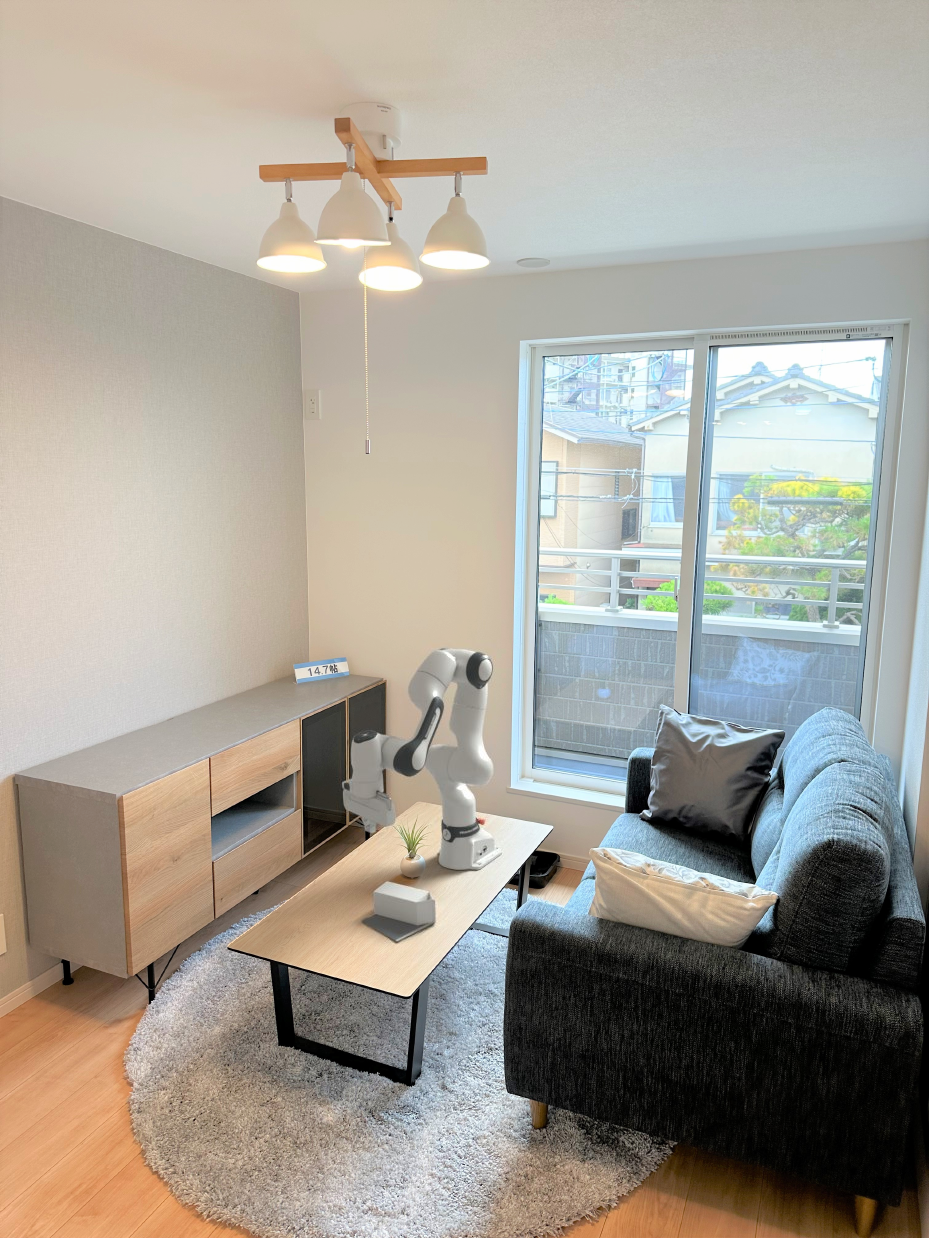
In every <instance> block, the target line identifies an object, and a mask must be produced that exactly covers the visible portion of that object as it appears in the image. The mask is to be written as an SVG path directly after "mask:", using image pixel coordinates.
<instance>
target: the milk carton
mask: <svg viewBox="0 0 929 1238" xmlns="http://www.w3.org/2000/svg"><path fill="white" fill-rule="evenodd" d="M436 909H437V908H436V899H434V898H432V896H431V893H430V891H428V890H424V889H419V888H415V887H412V886H407V885H404V884H399V883H397V882H396V883H395V882H392V881H385V882H384V883H383V884H381V885H380V886H379V887H377V888H376V889H375V890H374V891H373V911H374V912H373V913H374V914H377V915H381V916H384V917H388V918H392V919H395V920H399V921H403V922H406V923H410V924H414V925H417V926H418V925H423V924H427V923H432V922H433V923H435V924H436V923H437V916H436V914H437V913H436V912H437V911H436ZM374 914H373V915H374Z"/></svg>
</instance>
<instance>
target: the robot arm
mask: <svg viewBox="0 0 929 1238" xmlns="http://www.w3.org/2000/svg"><path fill="white" fill-rule="evenodd" d="M493 670H494V666H493V662H492V659H491V657H490V656H489V655H487V654H485V653H483V652H480V651H474V650H469V649H465V648H460V649H459V648H449V647H445V648H444V647H443V648H440V649H436V650H433V651H431V653H430V654H429V655H428V656H427V657H426V658H425V659H424V660H423V662H422V663H421V664H420V665H419V666H418V669H417V670H416V671H415V673H414V674H413V676H412V678H411V679H410V682H409V683H408V686H407V693H408V697H409V700H410V701H411V702H412V703H413V704H414V706H415V707H416V708H417V709H418V710H420V711H421V717H420V719H419V721H418V724H417V727H416V728H415V731H414V734H413V736H412V737H411V738H408V739H405V738H400V737H397V736H393V735H388V734H381V733H379V732H377V731H375V730H373V729H369V730H368V729H367V730H362V731H360V732H357V733H356V734H355V735H353V738H352V740H351V748H350V762H351V763H350V764H351V766H352V776H351V778H349V779H346V780H344V781H342V782H341V786H342V787H341V788H342V789H343V790H342V799H343V806H344V808H345V810H346V811H349V812H351V813H352V814H356V815H357V816H360V817H361V821H362V823H363V826H364V831H365V832H368V833H370V834H373V833H376V831H377V829H376V827H377V824H378V825H381V826H382V827H385V828H387V827H389V826H390V827H391V826H392V825H394V824H395V823H396V819H397V818H396V811H395V806H394V802H393V800H392V798H391V797H390V796H389V794H388V793H385V792H384V778H383V777H384V776H383V775H384V774H383V770H390V771H393V772H396V773H398V774H400V775H403V776H405V777H408V778H410V777H414V776H415V775H417V774H418V773H420V772H421V771H422V770H423V769H424V767H425V770H427V772H428V773H429V774H430V775H431V776H432V778H433V780H434V782H435V784H436V786H437V789H438V791H439V794H440V799H441V808H442V819H441V820H440V822H441V823H440V824H441V826H440V827H441V842H440V849H439V857H438V864H439V865H441V867H444V868H446V869H449V870H455V871H456V870H458V871H461V870H463V871H464V870H482V868H484V867H486V866H487V865H488V864H489V863H491V862H492V861H494V860H495V859H496V858H498V857H500V856H501V855H502V854H503V851H502V849H501V848H500V847H499V846H498V845H496V843H495V839H494V837H493V835H492V834H491V833H489V832H488V831H486V830H484V828H482V827H480V825H481V826H485V824H486V819H484V818H481V817H479V818H477V817H476V815H477V814H476V813H477V812H476V811H477V809H476V803H477V801H476V798H475V794H473V792H472V791H471V789H469V787H468V786H473V787H474V786H475V787H481V786H483V787H484V786H486V785H487V784H488V783H489V782H490V781H491V779H492V777H493V774H494V763H493V761H492V759H491V757H489V755H488V753H487V751H486V748H485V744H484V739H483V738H484V737H483V730H484V723H485V718H486V717H485V716H486V712H487V710H486V709H487V706H488V696H489V684H488V683H489V681H490V679H491V677H492V674H493V672H494V671H493ZM451 683H455V684H456V685H457V688H456V691H455V693H454V698H453V701H452V707H451V712H450V713H451V714H450V717H449V721H448V723H449V724H448V726H449V729H450V731H451V732H452V733H453V734H454V736H455V738H456V743H457V746H454V745H450V744H446V743H445V744H441V743H440V744H439V743H438V744H433V745H432V742H433V740H434V737H435V735H436V733H437V729H438V728H439V725H440V722H441V721H442V717H443V714H444V711H445V710H444V709H445V703H444V700H443V698H444V695H445V693H446V692H447V689H448V688H449V686H450V684H451ZM467 785H468V786H467Z"/></svg>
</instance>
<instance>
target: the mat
mask: <svg viewBox="0 0 929 1238" xmlns="http://www.w3.org/2000/svg"><path fill="white" fill-rule="evenodd" d="M361 923H363V924H365V925H366V926H368V927H370V928H371V929H373V930H375V931H377V932H378V933H379V934H381V935H383V936H385V937H387V938H388V939H390V940H392V941H393V942H395V943H397V944H398V943H400V942H402V941H404V940H406V939H408V938H410V937H412V936H414V935H416V934H418V933H420V932H421V931H423V930H425V929H427V928H429V927H431V926H434V925H435V924H436V923H433V922H432V923H427V924H423V925H418V926H417V925H414V924H410V923H406V922H403V921H399V920H395V919H392V918H388V917H384V916H381V915H377V914H372V915H370V916H368V917H366V918H364V919H362V920H361Z"/></svg>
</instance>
